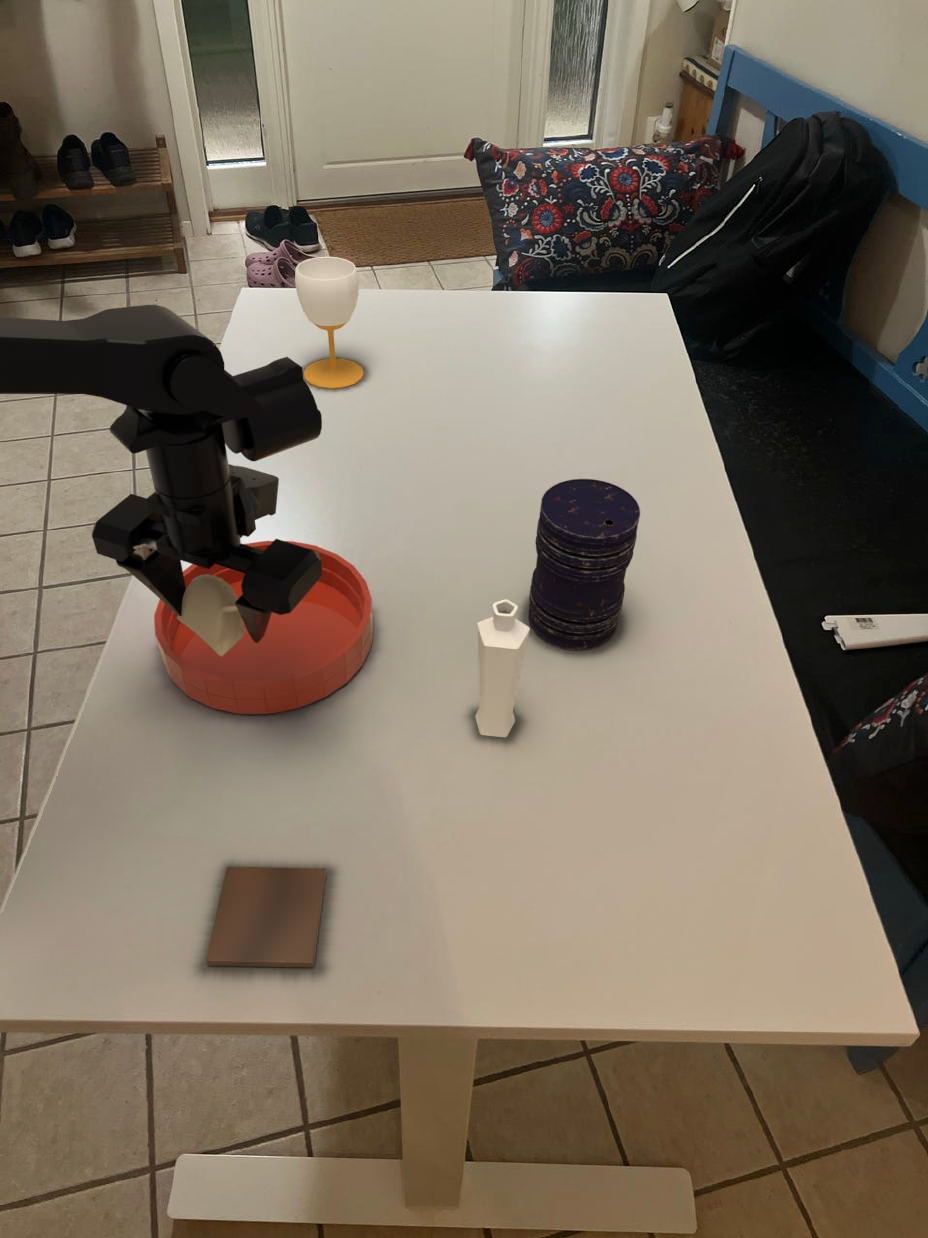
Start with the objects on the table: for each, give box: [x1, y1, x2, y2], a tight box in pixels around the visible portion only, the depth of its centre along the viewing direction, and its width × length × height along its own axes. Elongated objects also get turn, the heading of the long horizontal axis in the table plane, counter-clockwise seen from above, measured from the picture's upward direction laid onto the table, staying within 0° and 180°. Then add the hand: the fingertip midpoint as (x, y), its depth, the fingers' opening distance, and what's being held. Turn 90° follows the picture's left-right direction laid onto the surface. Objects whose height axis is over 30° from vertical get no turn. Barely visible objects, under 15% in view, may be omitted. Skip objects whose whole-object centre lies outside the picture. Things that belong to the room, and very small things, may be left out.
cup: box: [294, 256, 365, 390], centre depth 129 cm, size 9×9×16 cm
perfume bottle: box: [475, 598, 531, 738], centre depth 80 cm, size 5×4×15 cm
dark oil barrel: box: [527, 478, 641, 651], centre depth 91 cm, size 10×10×15 cm
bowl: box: [153, 540, 374, 715], centre depth 91 cm, size 21×21×4 cm
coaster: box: [205, 866, 327, 968], centre depth 70 cm, size 8×8×1 cm
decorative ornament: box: [177, 574, 245, 657], centre depth 77 cm, size 4×8×5 cm, turn 45°
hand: (221, 626), depth 78 cm, fingers closed on decorative ornament, 7 cm apart
